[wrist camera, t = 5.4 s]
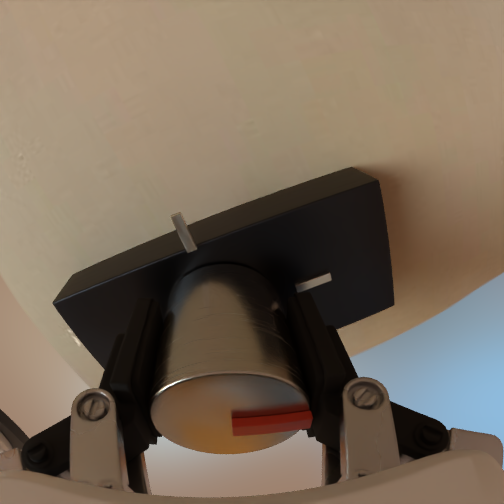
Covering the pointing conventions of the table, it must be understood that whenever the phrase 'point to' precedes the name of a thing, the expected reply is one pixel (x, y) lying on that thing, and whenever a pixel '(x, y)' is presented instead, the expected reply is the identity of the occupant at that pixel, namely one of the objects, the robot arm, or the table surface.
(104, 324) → the panel
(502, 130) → the table surface
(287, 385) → the knob
